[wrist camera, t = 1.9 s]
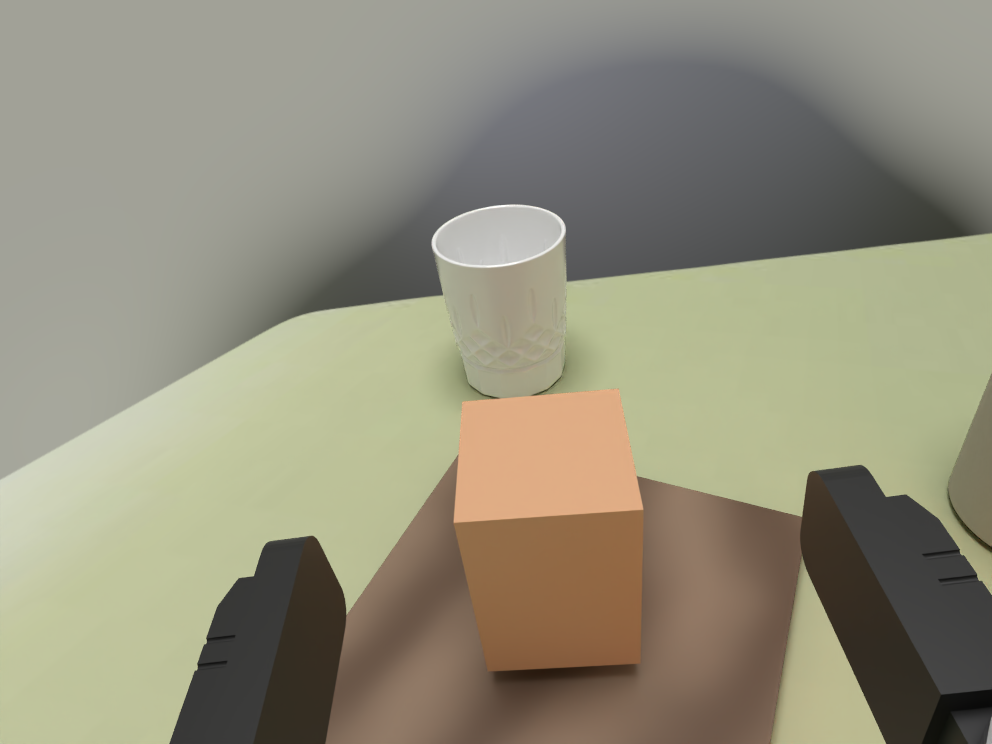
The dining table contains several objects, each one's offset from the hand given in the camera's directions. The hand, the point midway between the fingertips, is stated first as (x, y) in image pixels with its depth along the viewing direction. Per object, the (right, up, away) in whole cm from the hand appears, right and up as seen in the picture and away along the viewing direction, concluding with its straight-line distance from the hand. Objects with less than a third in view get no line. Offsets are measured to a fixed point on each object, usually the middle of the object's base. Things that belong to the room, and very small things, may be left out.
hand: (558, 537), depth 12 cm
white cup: (0, +3, +35) cm, 36 cm away
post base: (+2, -9, +20) cm, 22 cm away
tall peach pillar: (+2, -7, +18) cm, 20 cm away
